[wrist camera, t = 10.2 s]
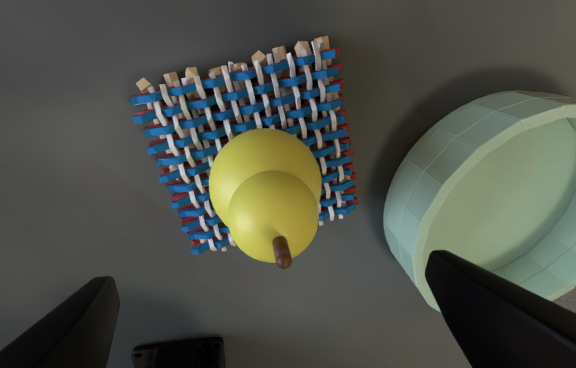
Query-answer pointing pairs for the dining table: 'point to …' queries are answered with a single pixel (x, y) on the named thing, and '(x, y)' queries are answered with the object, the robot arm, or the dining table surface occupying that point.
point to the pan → (492, 192)
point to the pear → (267, 194)
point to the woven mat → (248, 128)
